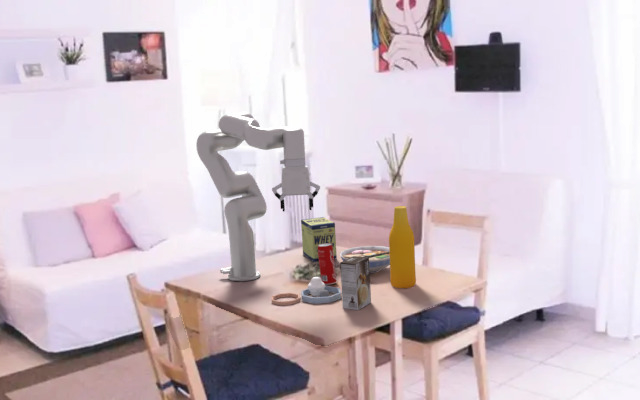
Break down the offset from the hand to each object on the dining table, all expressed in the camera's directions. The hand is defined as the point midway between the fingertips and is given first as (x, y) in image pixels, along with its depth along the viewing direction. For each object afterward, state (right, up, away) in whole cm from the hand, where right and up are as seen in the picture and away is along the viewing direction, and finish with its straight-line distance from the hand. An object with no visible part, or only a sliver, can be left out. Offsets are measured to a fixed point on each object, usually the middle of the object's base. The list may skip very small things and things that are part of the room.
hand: (297, 210), depth 280 cm
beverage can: (+11, -28, +12) cm, 32 cm away
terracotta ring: (-4, -32, -7) cm, 33 cm away
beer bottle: (+39, -28, +4) cm, 48 cm away
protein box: (+8, -21, +52) cm, 57 cm away
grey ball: (+10, -31, -9) cm, 34 cm away
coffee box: (+21, -32, -16) cm, 42 cm away
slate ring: (+9, -31, -5) cm, 32 cm away
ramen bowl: (+28, -24, +25) cm, 45 cm away
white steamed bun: (+7, -31, -3) cm, 32 cm away
